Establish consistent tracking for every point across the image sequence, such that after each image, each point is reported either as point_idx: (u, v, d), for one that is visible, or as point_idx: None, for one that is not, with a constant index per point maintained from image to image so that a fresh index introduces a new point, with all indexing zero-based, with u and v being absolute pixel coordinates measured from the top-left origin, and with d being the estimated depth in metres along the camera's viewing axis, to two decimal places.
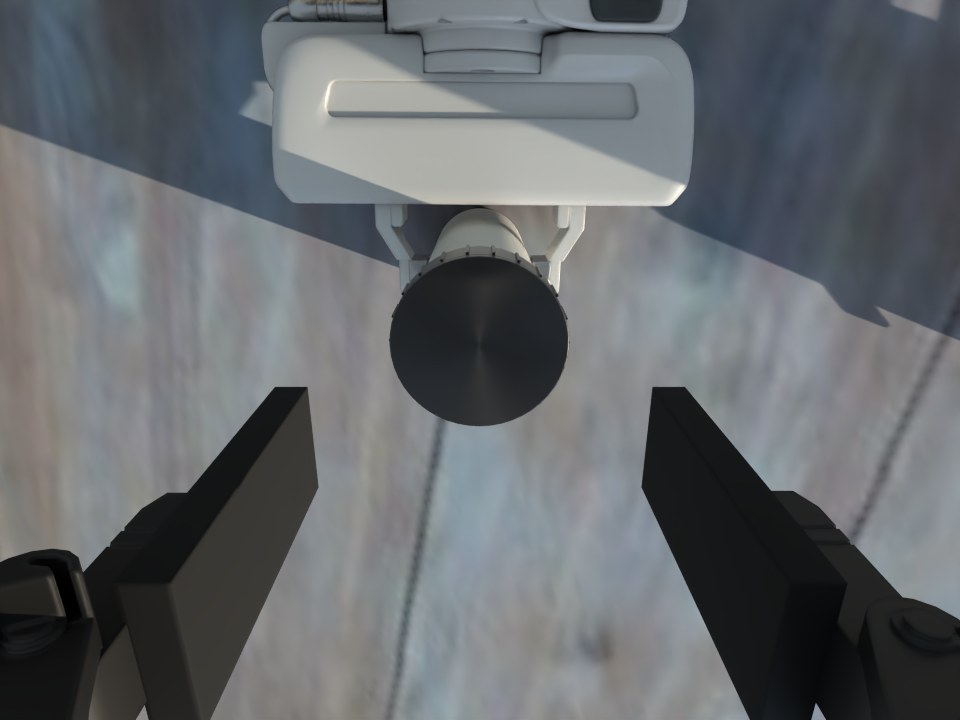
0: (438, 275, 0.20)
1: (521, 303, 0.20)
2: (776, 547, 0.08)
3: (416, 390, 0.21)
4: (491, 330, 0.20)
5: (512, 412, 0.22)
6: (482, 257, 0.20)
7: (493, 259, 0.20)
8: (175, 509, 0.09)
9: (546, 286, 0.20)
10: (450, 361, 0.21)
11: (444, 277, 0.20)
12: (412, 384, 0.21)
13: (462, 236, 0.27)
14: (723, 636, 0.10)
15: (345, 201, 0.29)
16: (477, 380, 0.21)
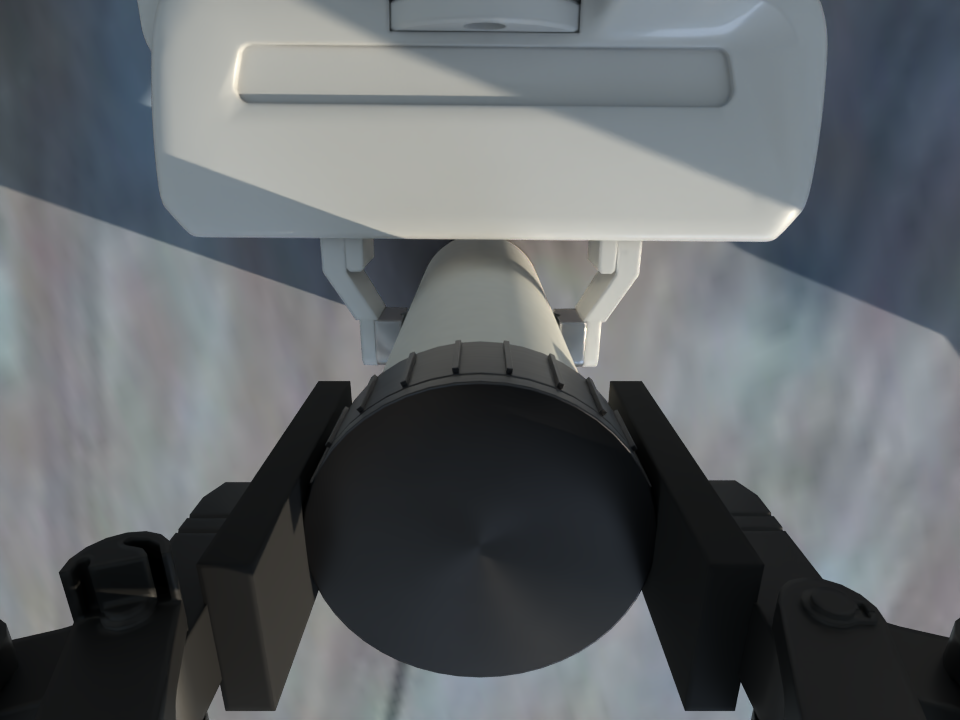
0: (396, 418, 0.10)
1: (564, 469, 0.10)
2: (702, 531, 0.09)
3: (358, 620, 0.11)
4: (504, 518, 0.10)
5: (542, 656, 0.11)
6: (486, 383, 0.09)
7: (509, 388, 0.09)
8: (242, 496, 0.10)
9: (617, 439, 0.10)
10: (424, 571, 0.11)
11: (408, 422, 0.10)
12: (351, 610, 0.11)
13: (452, 295, 0.17)
14: (661, 619, 0.10)
15: (272, 234, 0.19)
16: (475, 603, 0.11)
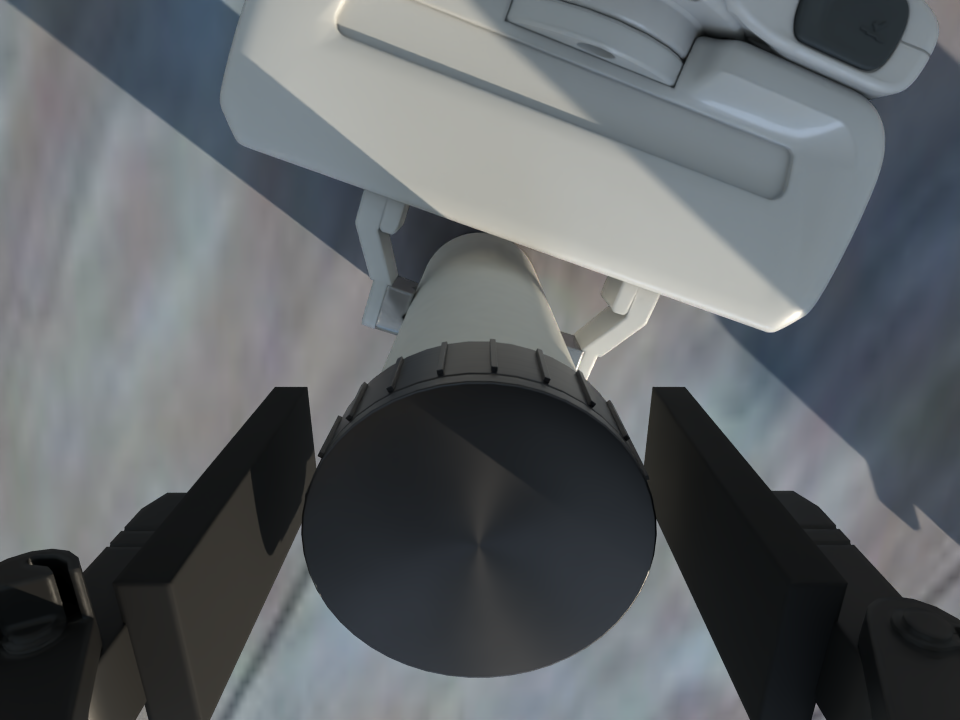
0: (338, 599, 0.11)
1: (394, 470, 0.10)
2: (776, 547, 0.08)
3: (560, 649, 0.11)
4: (448, 523, 0.10)
5: (633, 495, 0.10)
6: (302, 530, 0.10)
7: (307, 513, 0.10)
8: (174, 509, 0.09)
9: (358, 423, 0.10)
10: (505, 593, 0.11)
11: (342, 591, 0.11)
12: (546, 653, 0.11)
13: (483, 288, 0.17)
14: (724, 636, 0.10)
15: (320, 170, 0.18)
16: (552, 553, 0.11)
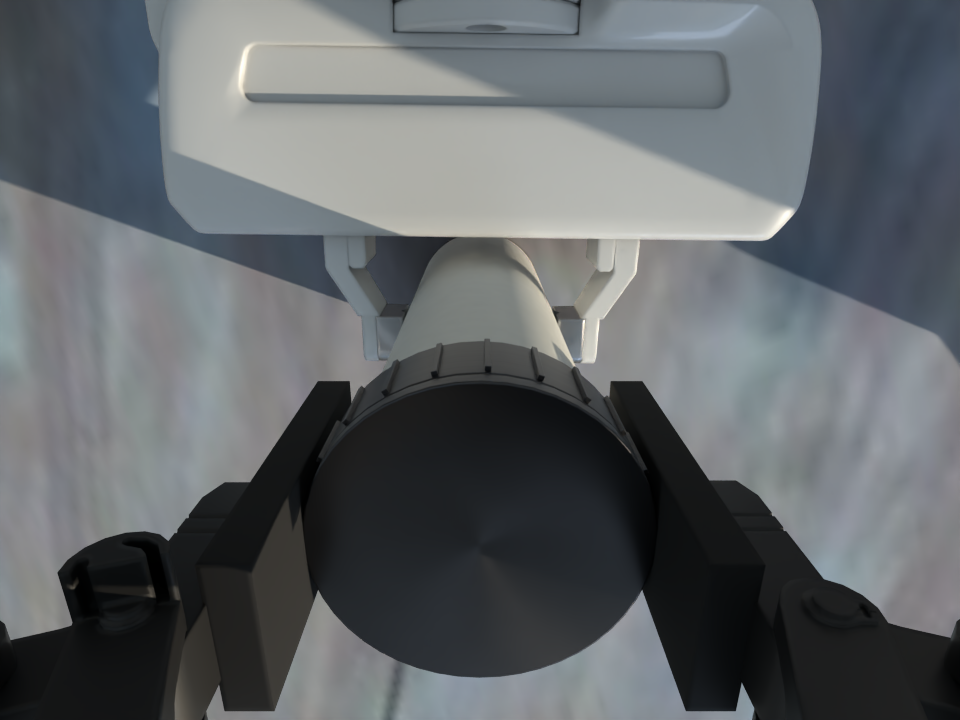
0: (370, 631, 0.11)
1: (372, 497, 0.10)
2: (703, 531, 0.09)
3: (599, 623, 0.11)
4: (443, 532, 0.10)
5: (611, 454, 0.10)
6: (312, 575, 0.11)
7: (310, 560, 0.11)
8: (241, 496, 0.10)
9: (323, 463, 0.10)
10: (523, 583, 0.11)
11: (370, 622, 0.11)
12: (587, 631, 0.11)
13: (453, 291, 0.17)
14: (662, 620, 0.10)
15: (276, 231, 0.19)
16: (553, 533, 0.10)
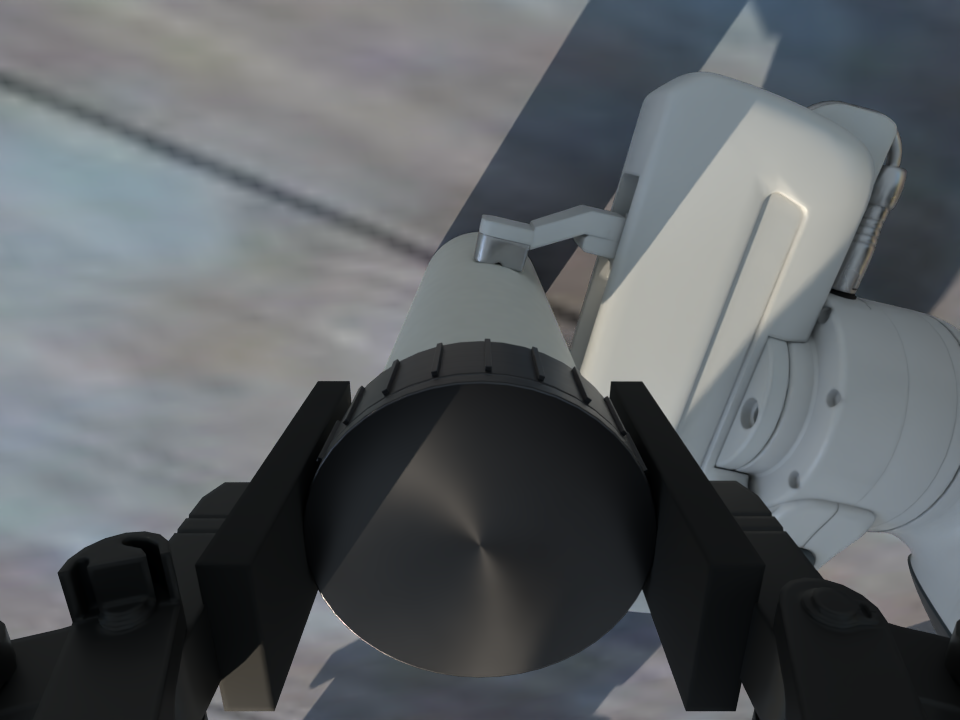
0: (370, 631, 0.11)
1: (372, 497, 0.10)
2: (703, 532, 0.09)
3: (599, 623, 0.11)
4: (443, 532, 0.10)
5: (611, 455, 0.10)
6: (312, 576, 0.11)
7: (310, 560, 0.11)
8: (241, 496, 0.10)
9: (323, 462, 0.10)
10: (523, 583, 0.11)
11: (370, 622, 0.11)
12: (586, 631, 0.11)
13: None
14: (662, 620, 0.10)
15: (646, 180, 0.19)
16: (552, 533, 0.10)
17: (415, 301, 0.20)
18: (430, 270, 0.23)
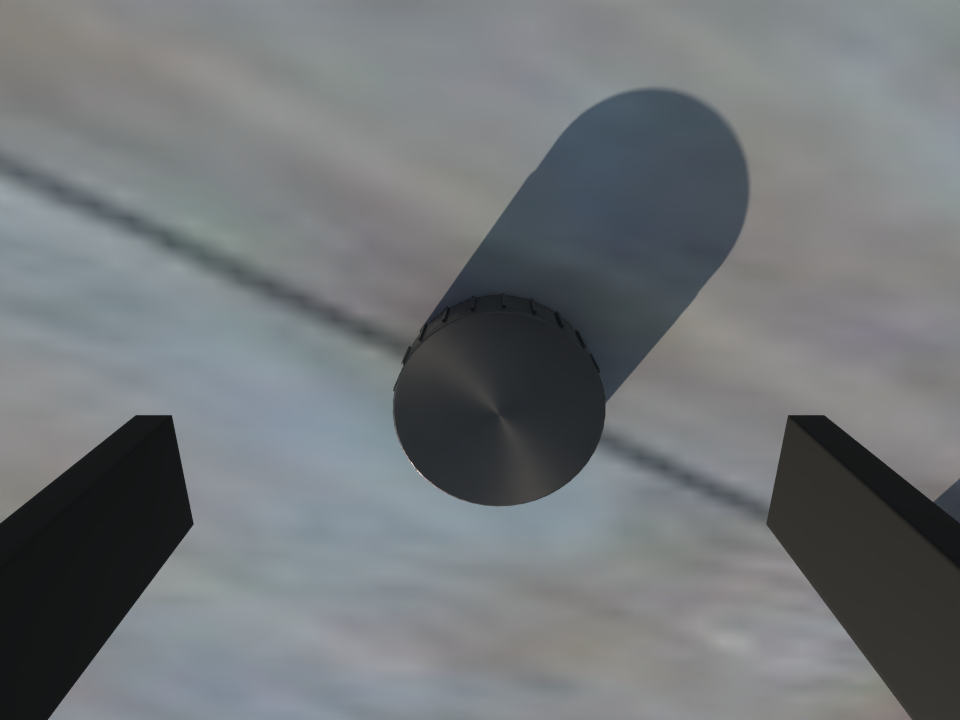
0: (430, 472, 0.18)
1: (435, 383, 0.17)
2: None
3: (571, 468, 0.18)
4: (476, 406, 0.17)
5: (575, 356, 0.17)
6: (397, 434, 0.18)
7: (396, 423, 0.18)
8: None
9: (408, 361, 0.17)
10: (525, 440, 0.18)
11: (431, 466, 0.18)
12: (564, 473, 0.18)
13: None
14: None
15: None
16: (542, 407, 0.17)
17: None
18: None
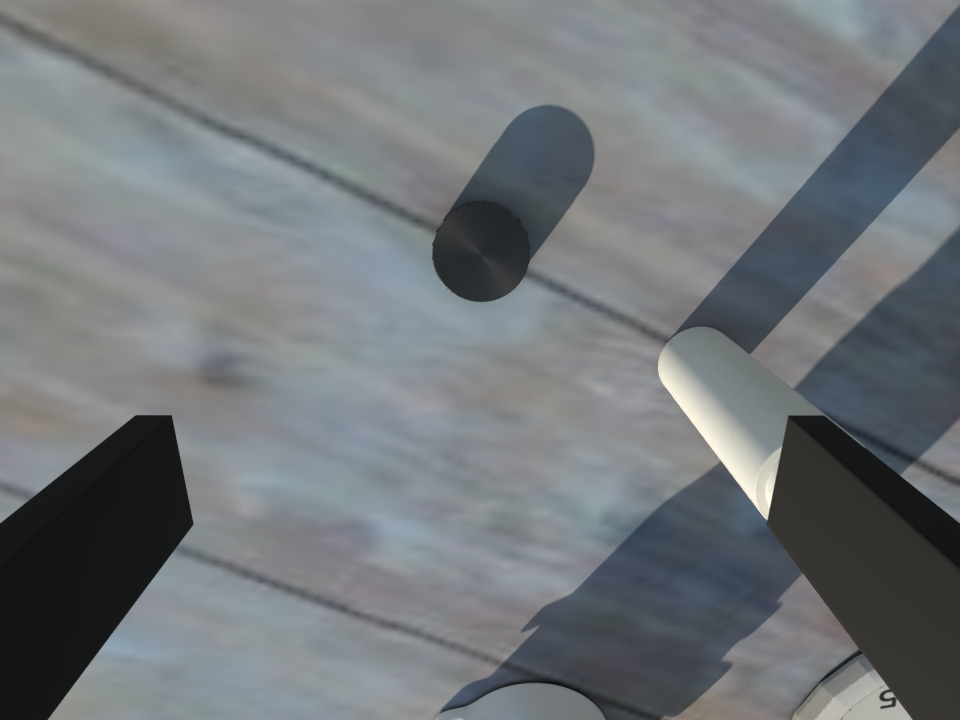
0: (449, 284, 0.39)
1: (452, 239, 0.38)
2: None
3: (515, 281, 0.39)
4: (470, 250, 0.38)
5: (515, 226, 0.38)
6: (434, 265, 0.38)
7: (434, 259, 0.38)
8: None
9: (439, 228, 0.38)
10: (493, 267, 0.38)
11: (449, 281, 0.39)
12: (511, 284, 0.39)
13: None
14: None
15: None
16: (500, 250, 0.38)
17: (715, 386, 0.34)
18: (696, 359, 0.38)
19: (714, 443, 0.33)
